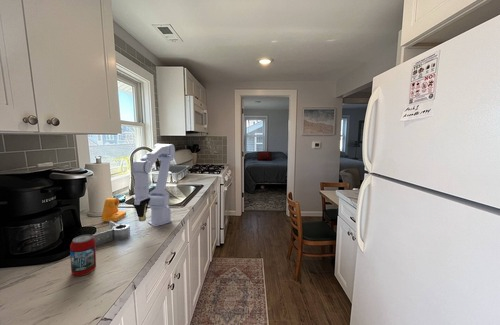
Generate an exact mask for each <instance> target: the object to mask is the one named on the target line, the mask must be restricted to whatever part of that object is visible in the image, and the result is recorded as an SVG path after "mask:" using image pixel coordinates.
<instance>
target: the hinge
mask: <svg viewBox="0 0 500 325" xmlns="http://www.w3.org/2000/svg"><path fill="white" fill-rule="evenodd" d="M108 225H109V226H108V228H109V229H108V230H105V231H101V232H98V233H95V234H92V237H93V238H94V239H95V247H97V246H100V245H101V246H102V245H103V244H106V243H110V242H112V241H114V242H118V241H119V242H120V241H124V240H127V239H128V238H129V237H131V225H130V224H128V223H120V224H119V223H116V222H115V221H108Z"/></svg>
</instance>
